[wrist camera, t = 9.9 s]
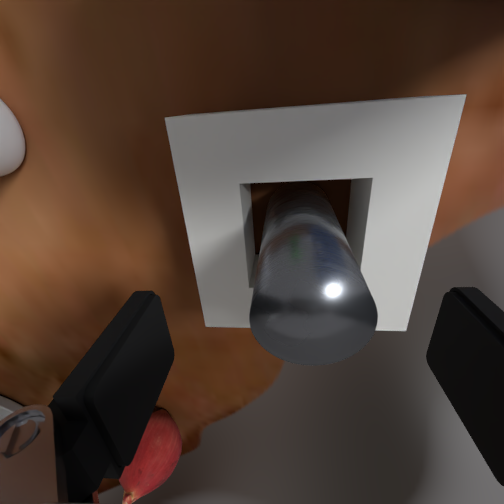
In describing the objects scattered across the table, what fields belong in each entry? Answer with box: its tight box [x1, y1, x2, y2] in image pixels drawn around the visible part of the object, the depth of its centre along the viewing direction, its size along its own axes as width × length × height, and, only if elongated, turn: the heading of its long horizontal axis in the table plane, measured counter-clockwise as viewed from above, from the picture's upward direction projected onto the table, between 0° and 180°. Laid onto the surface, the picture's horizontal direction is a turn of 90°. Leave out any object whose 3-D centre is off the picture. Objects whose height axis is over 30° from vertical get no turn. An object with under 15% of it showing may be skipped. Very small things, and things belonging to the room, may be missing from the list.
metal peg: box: [249, 181, 378, 365], centre depth 13 cm, size 4×4×10 cm
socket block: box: [165, 94, 467, 331], centre depth 16 cm, size 12×12×4 cm
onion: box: [119, 409, 182, 504], centre depth 26 cm, size 6×6×8 cm
